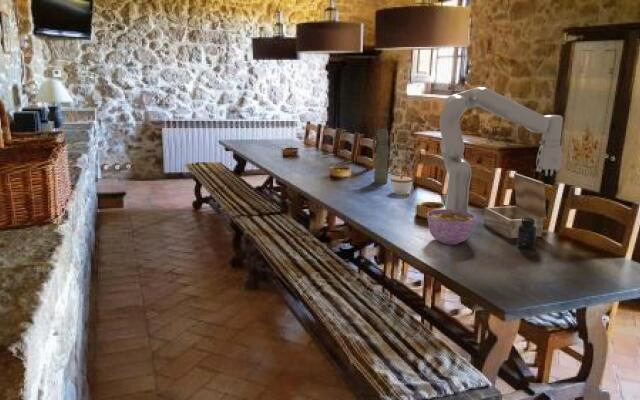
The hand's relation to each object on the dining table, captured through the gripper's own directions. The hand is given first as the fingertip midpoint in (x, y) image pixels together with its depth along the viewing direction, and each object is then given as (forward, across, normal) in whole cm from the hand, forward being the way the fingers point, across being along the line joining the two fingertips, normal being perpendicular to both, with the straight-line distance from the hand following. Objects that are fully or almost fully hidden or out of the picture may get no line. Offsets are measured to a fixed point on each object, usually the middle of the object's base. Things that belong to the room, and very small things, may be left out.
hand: (546, 183), depth 227 cm
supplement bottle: (+21, -22, -23) cm, 38 cm away
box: (+21, -15, 0) cm, 26 cm away
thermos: (+21, -44, +111) cm, 121 cm away
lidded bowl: (+21, -41, +79) cm, 91 cm away
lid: (+5, -8, 0) cm, 10 cm away
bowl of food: (+21, -50, -11) cm, 55 cm away
